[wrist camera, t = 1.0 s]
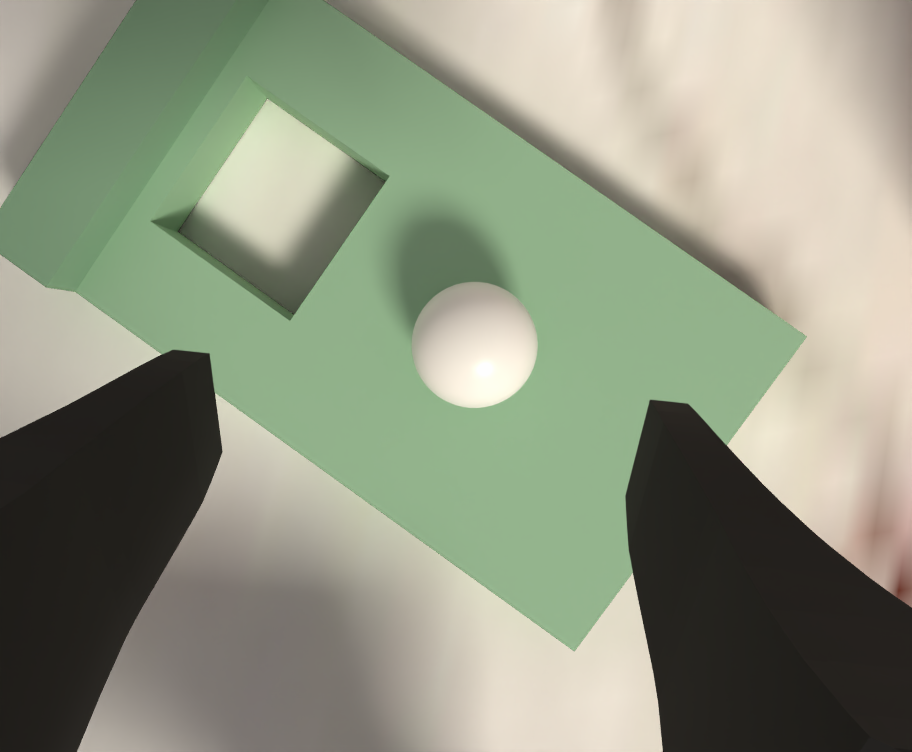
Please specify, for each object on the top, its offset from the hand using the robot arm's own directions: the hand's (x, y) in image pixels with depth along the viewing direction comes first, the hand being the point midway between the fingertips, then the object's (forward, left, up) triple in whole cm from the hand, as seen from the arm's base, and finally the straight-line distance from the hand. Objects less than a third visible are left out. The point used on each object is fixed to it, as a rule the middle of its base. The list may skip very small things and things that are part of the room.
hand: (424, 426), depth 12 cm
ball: (0, -2, -9) cm, 9 cm away
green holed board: (+3, -2, -13) cm, 13 cm away
